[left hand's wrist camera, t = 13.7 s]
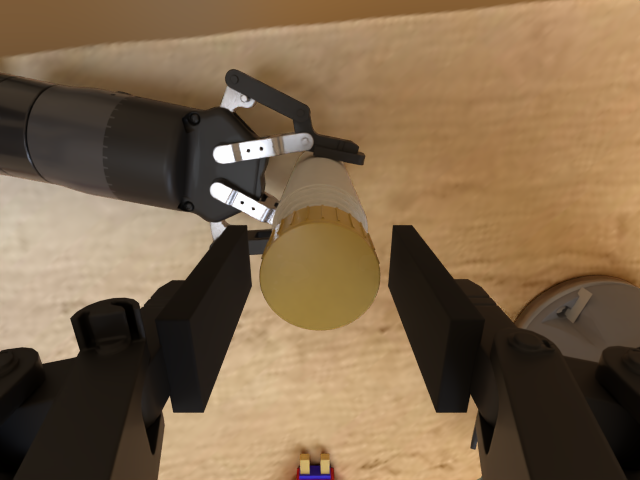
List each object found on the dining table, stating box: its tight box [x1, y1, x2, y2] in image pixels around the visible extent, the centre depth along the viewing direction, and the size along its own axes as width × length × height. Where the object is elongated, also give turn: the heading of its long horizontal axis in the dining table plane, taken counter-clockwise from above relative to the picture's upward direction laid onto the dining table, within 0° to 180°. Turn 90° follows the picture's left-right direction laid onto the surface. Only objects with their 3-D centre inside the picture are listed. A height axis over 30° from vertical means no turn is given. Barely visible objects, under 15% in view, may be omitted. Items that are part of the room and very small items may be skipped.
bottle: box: [272, 151, 368, 233], centre depth 22 cm, size 5×5×21 cm
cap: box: [260, 205, 380, 330], centre depth 13 cm, size 4×4×2 cm
